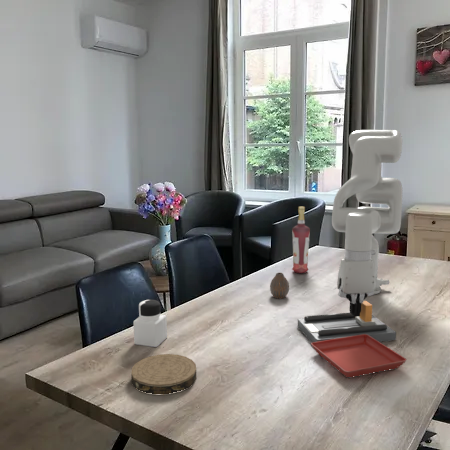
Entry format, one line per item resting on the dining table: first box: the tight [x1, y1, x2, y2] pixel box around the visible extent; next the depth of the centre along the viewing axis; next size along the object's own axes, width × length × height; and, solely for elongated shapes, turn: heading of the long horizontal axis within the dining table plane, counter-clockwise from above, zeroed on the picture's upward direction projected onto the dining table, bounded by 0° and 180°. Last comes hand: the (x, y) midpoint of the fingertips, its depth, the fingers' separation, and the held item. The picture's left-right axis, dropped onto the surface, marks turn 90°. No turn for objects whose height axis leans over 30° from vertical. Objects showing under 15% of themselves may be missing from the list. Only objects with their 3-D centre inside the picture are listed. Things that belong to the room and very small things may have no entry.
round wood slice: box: [130, 353, 198, 394], centre depth 124 cm, size 16×16×3 cm
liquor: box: [291, 206, 311, 275], centre depth 211 cm, size 7×7×28 cm
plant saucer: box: [310, 334, 407, 378], centre depth 132 cm, size 18×18×3 cm
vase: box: [269, 272, 290, 299], centre depth 182 cm, size 7×7×9 cm
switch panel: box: [297, 311, 397, 343], centre depth 150 cm, size 24×16×4 cm, turn 101°
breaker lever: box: [355, 300, 375, 326], centre depth 150 cm, size 4×5×6 cm
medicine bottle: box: [132, 299, 168, 348], centre depth 145 cm, size 7×7×12 cm
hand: (355, 314), depth 149 cm, fingers closed
